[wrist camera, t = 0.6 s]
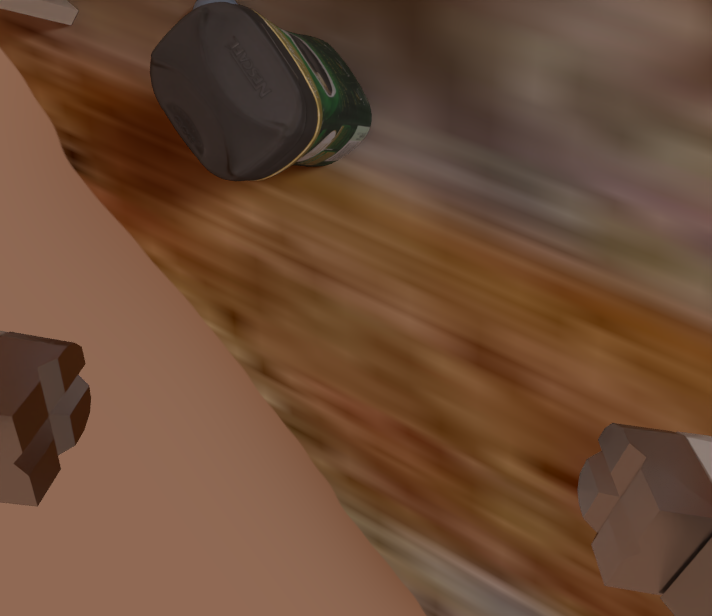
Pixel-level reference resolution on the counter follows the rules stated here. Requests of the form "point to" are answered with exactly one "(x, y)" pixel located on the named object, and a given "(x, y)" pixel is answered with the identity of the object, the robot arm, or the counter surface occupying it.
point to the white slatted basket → (43, 9)
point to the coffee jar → (256, 94)
